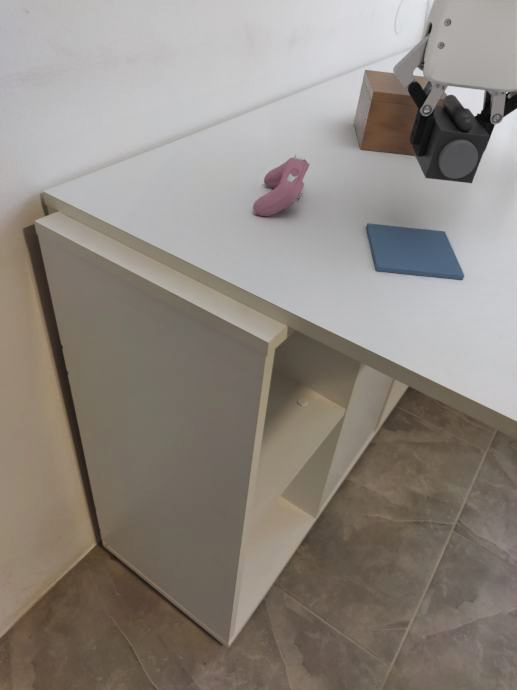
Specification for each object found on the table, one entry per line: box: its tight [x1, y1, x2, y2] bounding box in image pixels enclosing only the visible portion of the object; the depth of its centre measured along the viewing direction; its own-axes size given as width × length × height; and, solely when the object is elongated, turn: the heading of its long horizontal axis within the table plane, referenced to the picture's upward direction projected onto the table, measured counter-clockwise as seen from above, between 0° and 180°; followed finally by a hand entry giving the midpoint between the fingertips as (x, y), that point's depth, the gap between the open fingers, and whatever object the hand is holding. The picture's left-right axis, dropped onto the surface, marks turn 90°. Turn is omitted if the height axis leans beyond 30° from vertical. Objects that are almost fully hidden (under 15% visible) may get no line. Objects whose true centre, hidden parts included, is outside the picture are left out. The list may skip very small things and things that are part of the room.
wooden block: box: [353, 69, 448, 156], centre depth 89 cm, size 12×12×9 cm
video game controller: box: [252, 154, 310, 217], centre depth 69 cm, size 10×5×7 cm, turn 170°
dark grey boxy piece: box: [412, 94, 491, 184], centre depth 55 cm, size 5×10×6 cm, turn 178°
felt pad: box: [365, 222, 465, 281], centre depth 64 cm, size 10×10×1 cm
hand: (444, 152), depth 56 cm, fingers closed on dark grey boxy piece, 4 cm apart
